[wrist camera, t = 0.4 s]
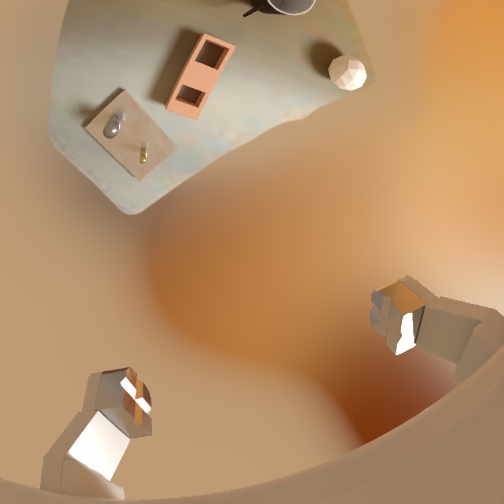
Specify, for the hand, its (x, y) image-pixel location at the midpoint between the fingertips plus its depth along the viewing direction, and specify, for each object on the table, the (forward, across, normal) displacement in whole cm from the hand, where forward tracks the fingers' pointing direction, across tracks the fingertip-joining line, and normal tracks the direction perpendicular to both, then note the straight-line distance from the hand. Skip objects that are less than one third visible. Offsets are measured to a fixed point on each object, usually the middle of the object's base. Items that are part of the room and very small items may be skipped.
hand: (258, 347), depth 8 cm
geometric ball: (+48, -33, -14) cm, 60 cm away
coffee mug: (+43, -18, -29) cm, 55 cm away
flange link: (+46, -4, -16) cm, 49 cm away
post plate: (+48, +10, -8) cm, 50 cm away
